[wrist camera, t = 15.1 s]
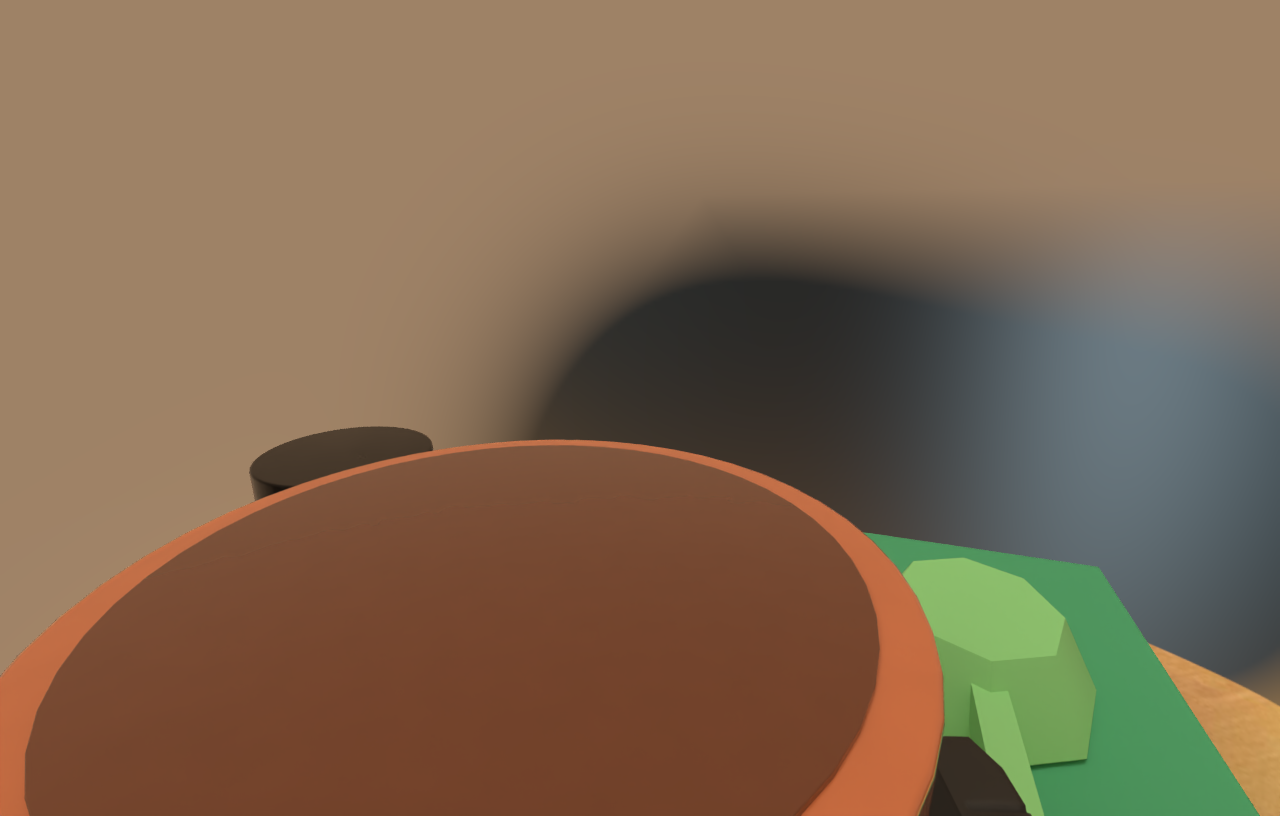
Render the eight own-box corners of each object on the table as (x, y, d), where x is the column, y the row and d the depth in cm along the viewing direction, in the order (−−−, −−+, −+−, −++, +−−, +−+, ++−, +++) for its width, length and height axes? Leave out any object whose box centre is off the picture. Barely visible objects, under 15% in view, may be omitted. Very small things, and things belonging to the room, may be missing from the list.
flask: (512, 872, 29) (477, 473, 23) (298, 965, 26) (191, 521, 20) (475, 735, 37) (442, 409, 31) (307, 791, 34) (233, 435, 28)
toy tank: (664, 1149, 12) (813, 476, 44) (662, 1442, 16) (801, 625, 47) (2276, 1954, 6) (1111, 513, 38) (1698, 2124, 10) (1071, 679, 42)
